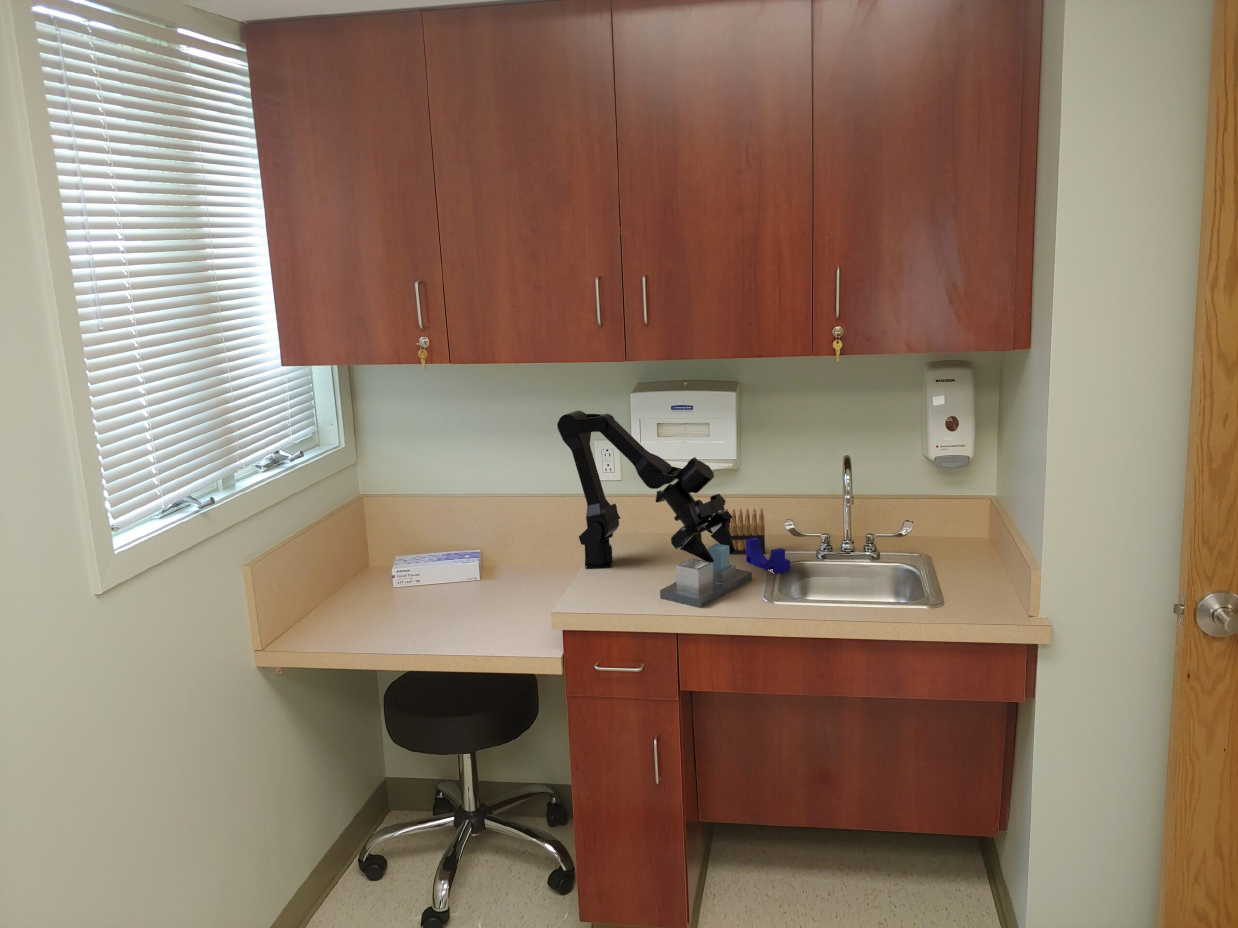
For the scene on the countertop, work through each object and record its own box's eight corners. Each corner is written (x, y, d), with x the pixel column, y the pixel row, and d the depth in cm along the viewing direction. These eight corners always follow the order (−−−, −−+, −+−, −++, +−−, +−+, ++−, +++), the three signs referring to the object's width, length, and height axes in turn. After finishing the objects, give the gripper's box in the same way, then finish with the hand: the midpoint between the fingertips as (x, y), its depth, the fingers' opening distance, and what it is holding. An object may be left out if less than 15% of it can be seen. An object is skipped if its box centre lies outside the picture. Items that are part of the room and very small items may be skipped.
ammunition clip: (723, 554, 253) (723, 509, 250) (723, 552, 255) (722, 507, 252) (765, 554, 252) (765, 509, 250) (764, 552, 254) (764, 507, 251)
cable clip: (789, 571, 238) (790, 548, 237) (774, 575, 236) (774, 551, 235) (760, 559, 249) (760, 536, 248) (745, 562, 247) (745, 539, 246)
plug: (721, 578, 229) (720, 549, 227) (708, 575, 231) (707, 547, 229) (729, 574, 231) (729, 545, 230) (716, 571, 234) (716, 543, 232)
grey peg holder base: (700, 607, 216) (700, 575, 214) (660, 598, 223) (659, 566, 221) (752, 579, 233) (751, 549, 231) (713, 571, 240) (712, 542, 238)
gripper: (680, 493, 222) (722, 548, 218) (725, 477, 236) (765, 528, 232) (653, 521, 229) (693, 575, 224) (698, 504, 243) (736, 554, 238)
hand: (723, 557), depth 229 cm, fingers open, 9 cm apart
